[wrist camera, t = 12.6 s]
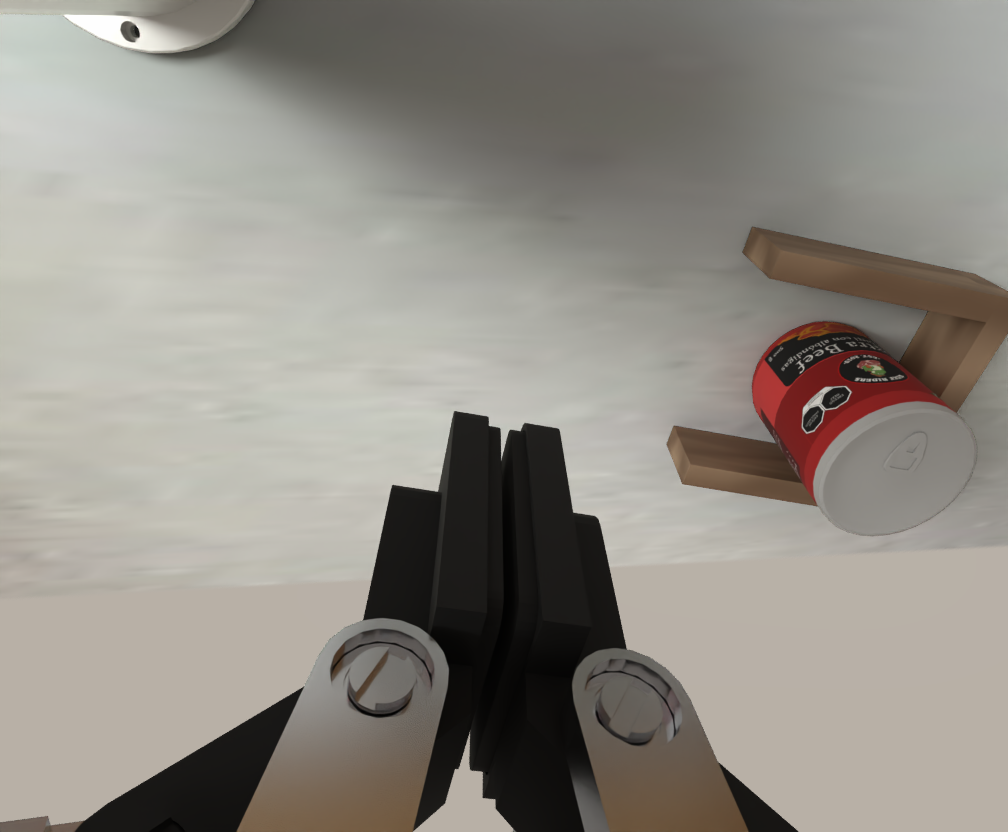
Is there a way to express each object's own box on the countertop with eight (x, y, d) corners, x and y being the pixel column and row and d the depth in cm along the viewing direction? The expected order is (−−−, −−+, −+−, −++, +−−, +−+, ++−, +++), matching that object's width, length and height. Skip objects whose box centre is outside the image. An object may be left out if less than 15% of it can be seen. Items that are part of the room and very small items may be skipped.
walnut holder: (752, 226, 37) (781, 250, 34) (975, 274, 39) (1027, 302, 35) (666, 444, 45) (682, 484, 41) (856, 476, 46) (888, 518, 43)
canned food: (883, 312, 40) (1001, 403, 31) (855, 424, 44) (952, 534, 35) (756, 320, 40) (835, 413, 31) (740, 431, 45) (805, 542, 35)
